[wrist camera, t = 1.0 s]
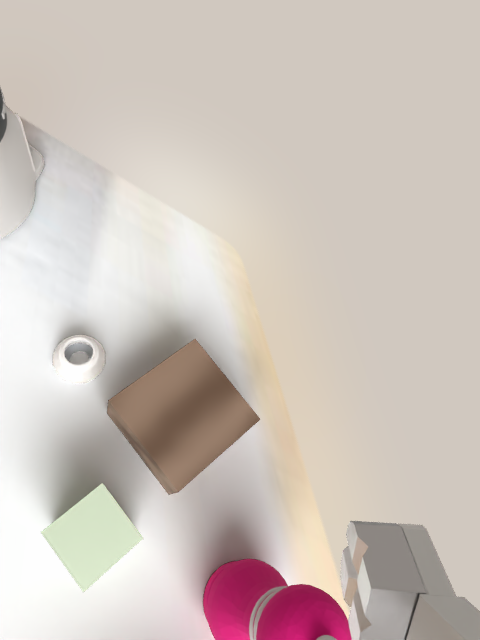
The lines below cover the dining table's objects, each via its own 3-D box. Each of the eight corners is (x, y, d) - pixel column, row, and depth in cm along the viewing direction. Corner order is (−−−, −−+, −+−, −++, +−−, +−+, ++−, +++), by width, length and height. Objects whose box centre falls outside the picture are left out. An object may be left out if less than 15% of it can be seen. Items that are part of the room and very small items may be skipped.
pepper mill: (287, 593, 44) (415, 646, 26) (238, 665, 41) (347, 781, 23) (233, 537, 45) (324, 553, 27) (181, 604, 41) (245, 672, 24)
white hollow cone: (42, 362, 46) (79, 394, 46) (39, 352, 43) (78, 387, 43) (79, 328, 48) (115, 359, 48) (78, 317, 46) (116, 350, 46)
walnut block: (106, 413, 46) (108, 400, 41) (184, 357, 50) (195, 338, 45) (168, 494, 45) (178, 492, 39) (242, 429, 49) (260, 419, 44)
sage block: (52, 528, 41) (40, 532, 32) (101, 489, 43) (102, 482, 34) (86, 575, 40) (83, 592, 31) (133, 533, 42) (143, 538, 34)
